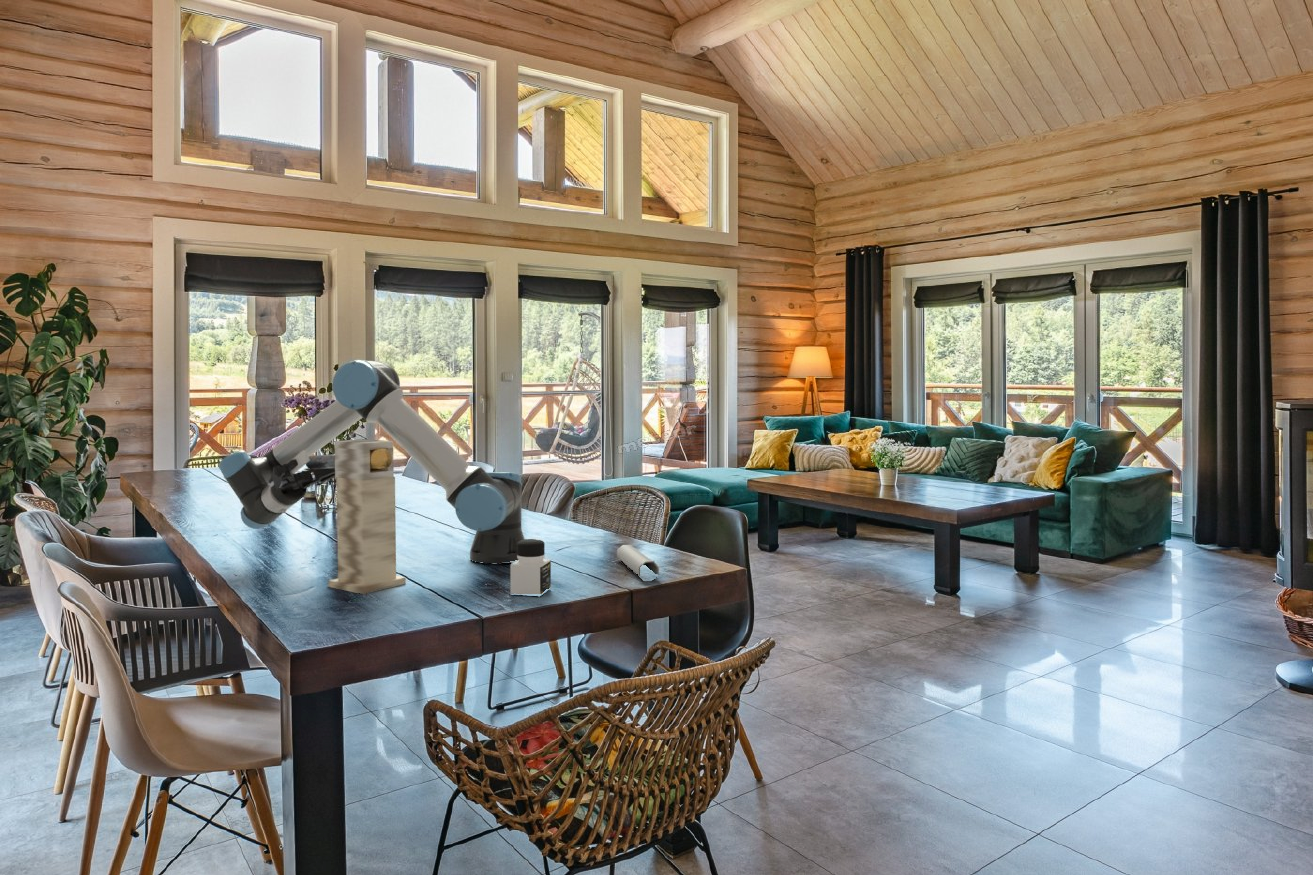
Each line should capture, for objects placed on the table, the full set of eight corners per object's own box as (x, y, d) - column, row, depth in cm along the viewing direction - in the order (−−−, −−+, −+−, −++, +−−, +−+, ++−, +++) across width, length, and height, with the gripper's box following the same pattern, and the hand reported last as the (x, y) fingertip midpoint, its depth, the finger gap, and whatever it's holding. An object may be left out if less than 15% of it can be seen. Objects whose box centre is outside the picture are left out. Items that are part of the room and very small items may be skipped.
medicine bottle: (540, 597, 193) (540, 543, 192) (510, 595, 194) (509, 542, 193) (551, 590, 200) (551, 537, 199) (521, 588, 201) (521, 536, 200)
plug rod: (303, 472, 209) (302, 454, 209) (319, 470, 213) (318, 452, 213) (377, 469, 195) (375, 449, 195) (392, 467, 199) (391, 448, 199)
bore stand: (328, 586, 201) (325, 441, 198) (371, 576, 211) (369, 438, 208) (363, 594, 194) (361, 444, 192) (405, 583, 204) (404, 441, 202)
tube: (611, 546, 232) (635, 565, 208) (630, 539, 233) (655, 557, 209) (617, 565, 233) (642, 586, 209) (636, 557, 234) (662, 578, 210)
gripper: (332, 499, 227) (380, 463, 216) (242, 512, 206) (289, 472, 195) (322, 473, 228) (369, 436, 218) (232, 483, 208) (278, 442, 197)
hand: (331, 453), depth 207 cm, fingers open, 13 cm apart
